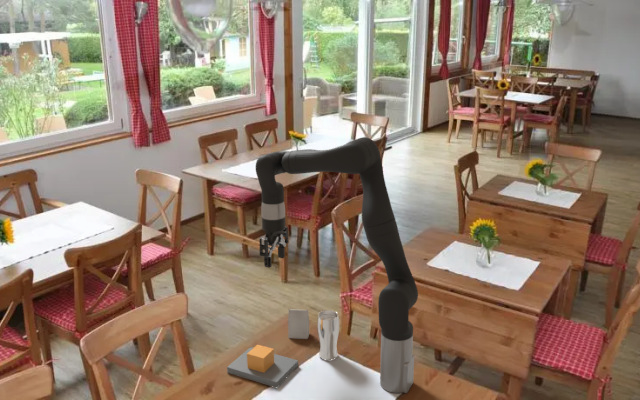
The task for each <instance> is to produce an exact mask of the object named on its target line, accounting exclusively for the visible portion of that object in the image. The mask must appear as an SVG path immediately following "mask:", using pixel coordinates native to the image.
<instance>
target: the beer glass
mask: <svg viewBox="0 0 640 400" xmlns="http://www.w3.org/2000/svg"><path fill="white" fill-rule="evenodd" d="M339 317H340V316H339V313H338V312H337V311H335V310H332V309H324V310H322V311H319V312H318V314H317V324H316V325H317V335H318V340H319V345H320V348H319V354H318V355H319V356H320V357H321V358H322V359H326V360H331V359H334V358H336V357H337V356H338V357H339V354H338V349H337V344H338V343H337V342H338V338H339V333H340V332H339V331H340V318H339ZM319 356H318V357H319ZM320 357H319V358H320ZM338 357H337V358H338ZM321 358H320V359H321ZM337 358H336V359H337ZM322 359H321V360H322Z"/></svg>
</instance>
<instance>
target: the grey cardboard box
mask: <svg viewBox="0 0 640 400" xmlns="http://www.w3.org/2000/svg"><path fill="white" fill-rule="evenodd" d="M287 314H288V317H287V330H288V332H287V333H288V335H287V336H288V339H299V340H300V339H303V340H308V339H309V335H310V316H309V309H291V308H290V309H288V313H287Z"/></svg>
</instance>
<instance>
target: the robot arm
mask: <svg viewBox="0 0 640 400" xmlns="http://www.w3.org/2000/svg"><path fill="white" fill-rule="evenodd" d="M383 168H384V167H383V162H382V158H381V153H380V150H379V146H378V145H377V143H376V142H375V141H374V140H373V139H371V138H369V137H359V138H355V139H353V140H350V141H348V142H346V143H345V144H342V145H339V146H337V147H333V148H329V149H323V150H321V149H320V150H319V149H313V148H312V149H309V148H308V149H298V150H297V149H296V150H291V151H290V150H289V151H288V150H278V151H273V152H270V153H266V154H262V155H261V156H259V157H258V158H257V160H256V163H255V174H256V176H257V177H256V178H257V179H258V183H259V186H260V189H261V206H260V207H261V209H260V210H261V211H260V213H261V230H262V231H264V232H265V236H264V237H260V238H259V256H260V257H263V260H264V261H263V262H264V267H265V268H269V269H270V268H272V263H273V262H272V255H273V251H275V249H276V247H277V258H279V259H285V257H286V251H285V249H286V246H287V244H289V227H288V226H286V206H285V190H284V185H283V183H281V182H280V181H277V180H276V176H278V175H281V174H285V173H287V174H289V175H300V174H310V173H311V174H312V173H320V172H324V173H325V172H326V173H330V172H331V173H340V174H349V175H359V178H360V181H361V185H362V205H361V222H362V225H363V229H364V234H365V237H366V239H367V242H368V244H369V246H370V247H371V248H372V250H373V252H375V254H376V255H377V256H378V257H379V259H380V260H381V262H382V264H383V266H384V269H385V272H386V275H387V280H388V284H387V285H386V286H384V288H383V289H382V290H381V291H380V292H379V296H378V324H379V327H380V329H381V330H380V332H381V333H380V364H379V365H380V369H379V370H380V371H379V372H380V374H379V375H380V376H379V384H380V386H381V387H382V389H384V390H385V391H387V392H390V393H395V394H399V393H404V394H407V393H408V392H409V390H410V389H411V387H412V385H413V384H414V376H415V375H414V372H415V371H414V370H415V355H414V354H413V343H414V340H413V339H414V325H413V323H412V322H411V321H410V319H409V311H410V310H411V309H412V307H414V305H415V304H416V303H417V301H418V299H419V292H418V287H417V285H416V282H415V279H414V276H413V274H412V271H411V269H410V266H409V264H408V261H407V258H406V253H405V251H404V247H403V244H402V240H401V237H400V233H399V229H398V224H397V221H396V216H395V214H394V211H393V208H392V204H391V200H390V196H389V192H388V188H387V185H386V181H385V174H384V169H383Z"/></svg>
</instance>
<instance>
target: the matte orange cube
mask: <svg viewBox="0 0 640 400" xmlns="http://www.w3.org/2000/svg"><path fill="white" fill-rule="evenodd" d="M252 348H253V349H252V350H251V351H249V352H248V353H247V365H248V368H250V369H253V370H257V371H260V372H263V373H264V372H265V371H266V370H267V369H269V368H270V367H271V366H272V365H273V364H274V354H275V349H274V348H271V347H269V346H265V345H261V344H256V345H255V346H254V347H252Z"/></svg>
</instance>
